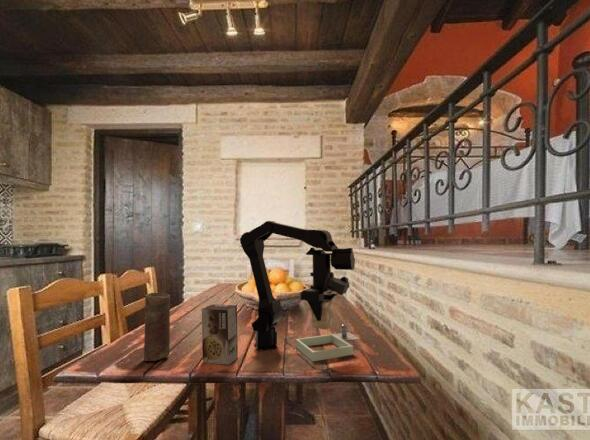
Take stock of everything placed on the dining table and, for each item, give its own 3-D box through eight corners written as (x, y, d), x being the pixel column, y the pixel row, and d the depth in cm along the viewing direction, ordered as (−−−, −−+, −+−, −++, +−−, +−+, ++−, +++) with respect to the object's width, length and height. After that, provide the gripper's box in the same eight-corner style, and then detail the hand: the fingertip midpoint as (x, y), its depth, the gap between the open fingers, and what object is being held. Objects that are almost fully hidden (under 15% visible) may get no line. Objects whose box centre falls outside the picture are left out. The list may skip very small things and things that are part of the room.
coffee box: (238, 357, 104) (238, 305, 105) (228, 365, 98) (228, 309, 99) (212, 354, 107) (212, 303, 107) (201, 362, 100) (201, 308, 101)
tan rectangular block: (326, 329, 103) (326, 303, 103) (312, 327, 105) (311, 301, 106) (333, 325, 107) (332, 300, 107) (319, 323, 110) (318, 298, 110)
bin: (312, 364, 97) (312, 352, 97) (295, 349, 110) (295, 339, 110) (353, 357, 102) (353, 346, 102) (332, 344, 115) (332, 334, 115)
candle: (162, 352, 109) (162, 291, 110) (174, 357, 105) (174, 293, 106) (139, 359, 104) (139, 294, 104) (151, 365, 99) (151, 296, 100)
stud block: (339, 344, 115) (339, 328, 115) (329, 337, 122) (328, 322, 122) (359, 341, 118) (359, 325, 118) (348, 334, 125) (347, 320, 125)
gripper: (333, 273, 95) (334, 329, 94) (355, 267, 111) (356, 314, 111) (299, 271, 100) (300, 324, 100) (324, 266, 117) (325, 311, 116)
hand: (322, 318), depth 106 cm, fingers closed on tan rectangular block, 5 cm apart
